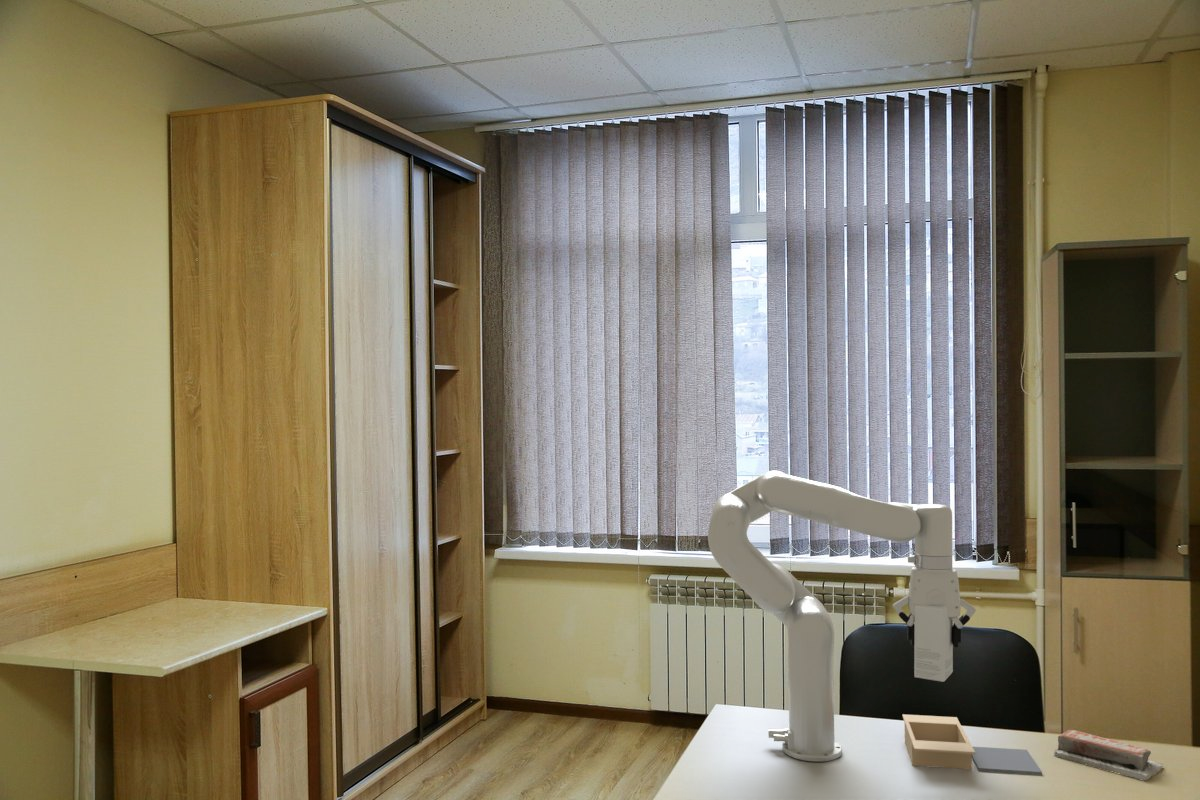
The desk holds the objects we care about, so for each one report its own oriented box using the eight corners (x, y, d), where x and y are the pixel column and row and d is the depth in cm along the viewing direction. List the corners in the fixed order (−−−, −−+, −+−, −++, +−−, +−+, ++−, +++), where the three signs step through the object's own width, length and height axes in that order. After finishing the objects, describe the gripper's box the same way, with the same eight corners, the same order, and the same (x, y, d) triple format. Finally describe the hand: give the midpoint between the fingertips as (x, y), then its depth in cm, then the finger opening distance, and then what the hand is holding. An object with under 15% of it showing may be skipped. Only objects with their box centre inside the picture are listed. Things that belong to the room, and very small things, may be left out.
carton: (914, 773, 185) (914, 748, 185) (902, 736, 205) (902, 714, 205) (975, 777, 182) (975, 752, 182) (957, 739, 203) (956, 717, 203)
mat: (978, 770, 185) (978, 767, 185) (967, 748, 197) (967, 746, 197) (1042, 775, 183) (1042, 772, 183) (1026, 752, 195) (1026, 749, 195)
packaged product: (1051, 735, 193) (1071, 724, 199) (1052, 758, 193) (1071, 746, 199) (1146, 759, 179) (1163, 746, 186) (1146, 783, 179) (1164, 770, 186)
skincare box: (924, 668, 199) (923, 596, 199) (955, 672, 195) (954, 600, 195) (913, 677, 192) (912, 603, 192) (945, 682, 188) (945, 607, 188)
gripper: (892, 564, 192) (893, 647, 192) (980, 567, 188) (980, 651, 188) (889, 558, 199) (889, 638, 199) (973, 560, 196) (973, 642, 196)
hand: (933, 644), depth 194 cm, fingers closed on skincare box, 8 cm apart
